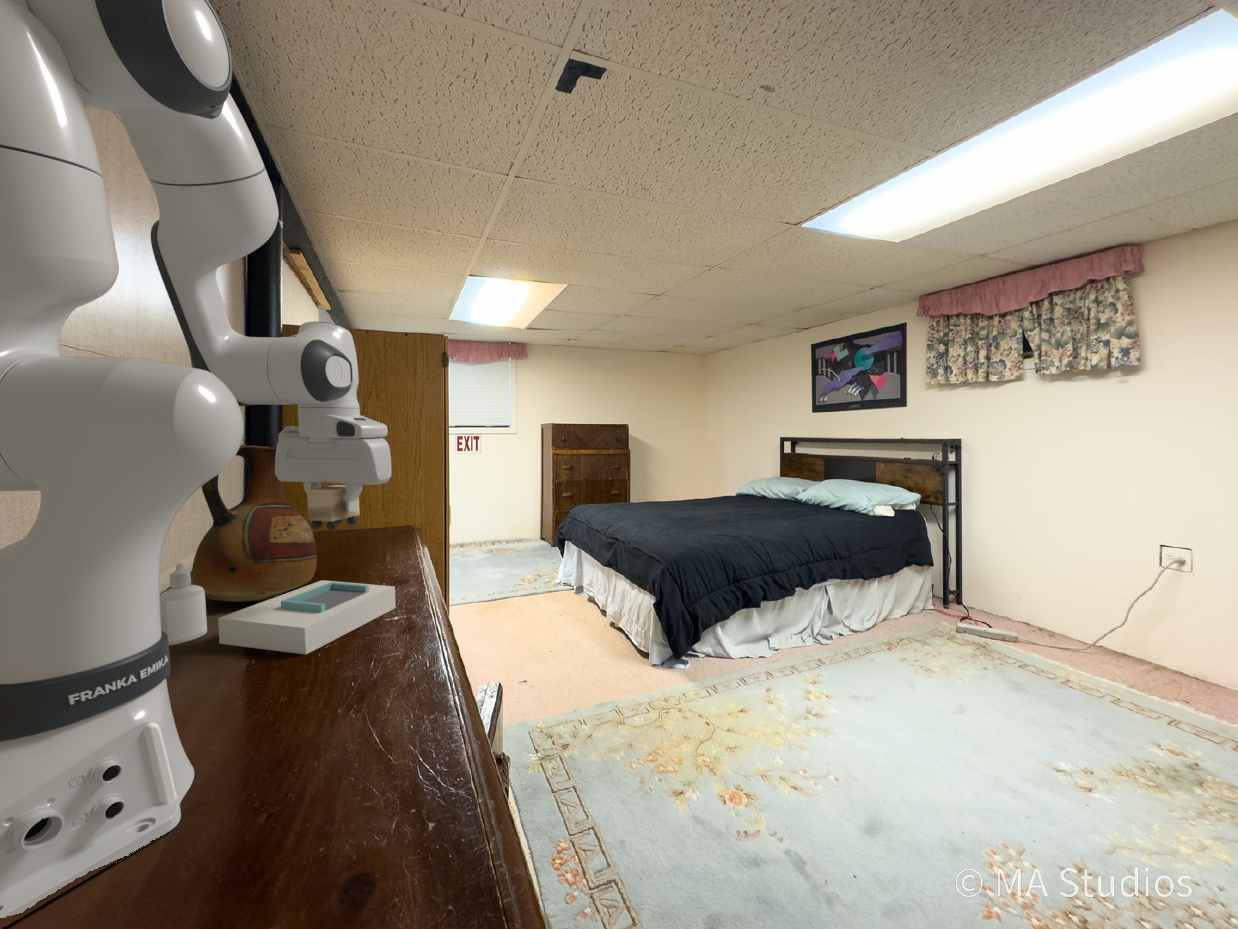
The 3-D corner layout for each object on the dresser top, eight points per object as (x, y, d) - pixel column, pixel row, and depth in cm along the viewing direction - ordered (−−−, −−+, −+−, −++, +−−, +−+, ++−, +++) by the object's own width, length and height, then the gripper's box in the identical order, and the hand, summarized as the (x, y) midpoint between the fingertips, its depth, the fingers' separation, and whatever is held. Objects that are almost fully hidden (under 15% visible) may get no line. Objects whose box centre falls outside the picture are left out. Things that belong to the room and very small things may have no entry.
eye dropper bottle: (206, 639, 81) (201, 564, 80) (158, 648, 77) (153, 570, 76) (207, 630, 84) (203, 558, 83) (162, 638, 81) (157, 563, 80)
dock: (305, 654, 75) (304, 619, 75) (219, 643, 79) (217, 610, 79) (395, 607, 95) (394, 580, 94) (322, 600, 98) (321, 574, 98)
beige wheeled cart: (332, 531, 82) (330, 490, 82) (308, 529, 83) (306, 489, 83) (360, 524, 88) (358, 485, 87) (337, 522, 89) (335, 485, 89)
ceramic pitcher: (339, 587, 107) (333, 443, 105) (232, 620, 89) (223, 446, 87) (279, 575, 115) (273, 441, 113) (171, 603, 97) (161, 444, 95)
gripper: (261, 426, 84) (266, 510, 85) (368, 426, 79) (372, 516, 80) (294, 425, 90) (298, 504, 91) (396, 426, 85) (399, 509, 86)
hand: (334, 509), depth 85 cm, fingers closed on beige wheeled cart, 5 cm apart
